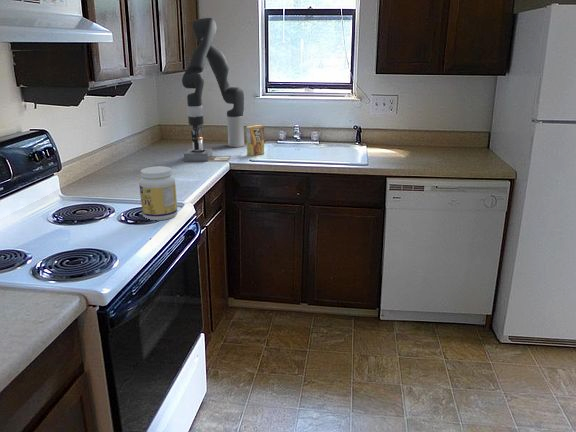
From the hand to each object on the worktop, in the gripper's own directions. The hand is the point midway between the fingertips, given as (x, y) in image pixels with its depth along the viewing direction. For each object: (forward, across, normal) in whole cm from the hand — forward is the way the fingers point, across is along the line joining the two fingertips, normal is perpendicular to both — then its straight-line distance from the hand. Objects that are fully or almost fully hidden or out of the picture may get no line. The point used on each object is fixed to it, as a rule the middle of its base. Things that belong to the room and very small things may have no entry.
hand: (197, 148), depth 265 cm
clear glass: (+5, 0, 0) cm, 5 cm away
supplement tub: (+7, +87, +5) cm, 88 cm away
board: (+6, 0, +5) cm, 8 cm away
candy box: (+7, -14, +28) cm, 32 cm away
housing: (+5, 0, 0) cm, 5 cm away
